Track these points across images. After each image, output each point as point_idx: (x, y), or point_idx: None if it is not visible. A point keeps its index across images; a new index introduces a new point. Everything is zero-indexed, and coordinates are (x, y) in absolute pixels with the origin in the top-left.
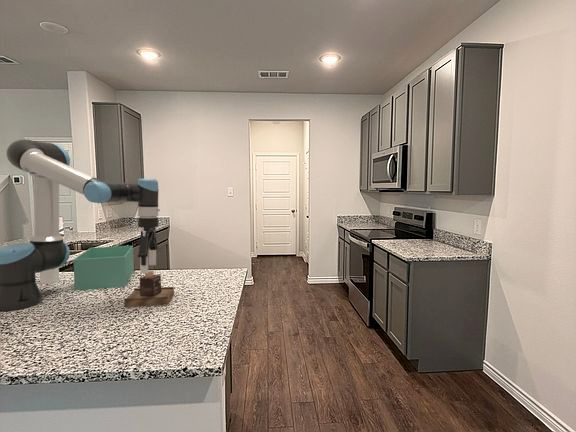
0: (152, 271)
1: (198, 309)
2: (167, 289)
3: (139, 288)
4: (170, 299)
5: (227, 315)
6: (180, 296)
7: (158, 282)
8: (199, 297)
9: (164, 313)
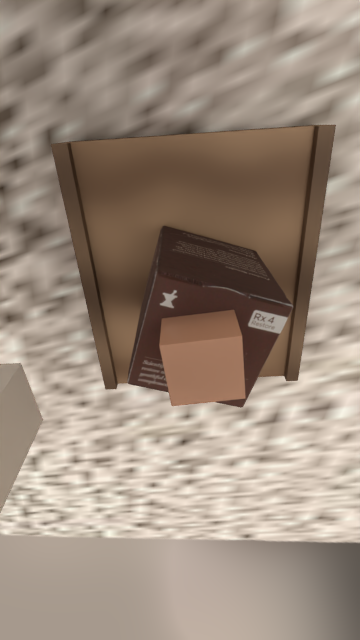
0: (216, 393)
1: (63, 464)
2: (276, 350)
3: (325, 169)
4: None
5: (18, 527)
6: None
7: None
8: (205, 452)
9: None
